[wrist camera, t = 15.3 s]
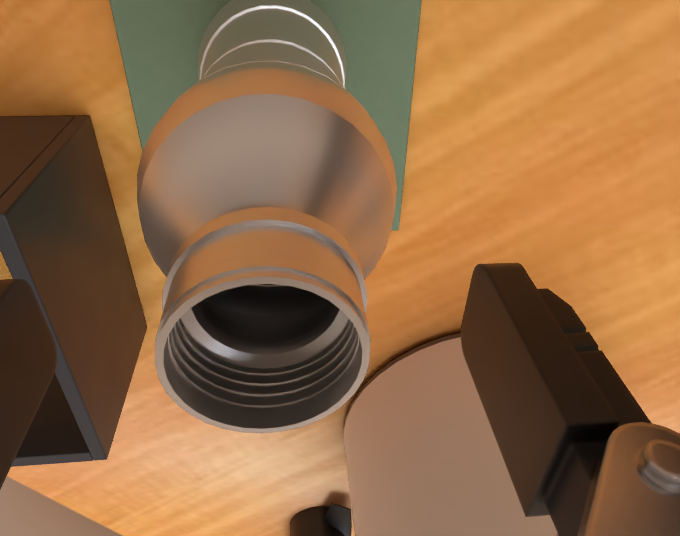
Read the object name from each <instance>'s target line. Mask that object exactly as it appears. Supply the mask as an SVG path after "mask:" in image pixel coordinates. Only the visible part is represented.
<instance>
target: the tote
mask: <svg viewBox="0 0 680 536" xmlns="http://www.w3.org/2000/svg"><path fill="white" fill-rule="evenodd" d="M0 250H1V253H2V255H3V257H4V259H5V262H6V264H7V266H8V269H9V271H10V273H11V275H12V278H13V279H23V280H25V281H26V282H27V283H28V284H29V285H30V286H31V288H32V290H33V292H34V295H35V297H36V299H37V302H38V304H39V306H40V309H41V311H42V313H43V316H44V318H45V321H46V323H47V325H48V328H49V330H50V332H51V335H52V337H53V339H54V342H55V345H56V351H57V363H56V369H55V373H54V376H53V378H52V380H51V383H50V385H49V387H48V389H47V391H46V393H45V395H44V397H43V400H42V402H41V404H40V406H39V408H38V410H37V412H36V414H35V417H34V419H33V421H32V423H31V425H30V427H29V429H28V431H27V434H26V436H25V438H24V440H23V442H22V444H21V446H20V448H19V451H18V453H17V455H16V457H15V459H14V461H13V463H12V465H11V467H13V466H27V465H41V464H54V463H68V462H82V461H93V460H106V459H107V457H108V454H109V451H110V448H111V444H112V441H113V438H114V434H115V431H116V428H117V425H118V421H119V418H120V415H121V411H122V408H123V405H124V402H125V398H126V395H127V392H128V388H129V385H130V382H131V379H132V375H133V372H134V369H135V365H136V362H137V359H138V356H139V352H140V349H141V346H142V342H143V339H144V336H145V333H146V329H147V325H146V322H145V318H144V314H143V311H142V307H141V303H140V299H139V296H138V292H137V288H136V285H135V281H134V277H133V274H132V270H131V266H130V263H129V259H128V255H127V252H126V248H125V244H124V241H123V237H122V233H121V230H120V226H119V222H118V218H117V215H116V211H115V207H114V204H113V200H112V196H111V193H110V189H109V185H108V182H107V178H106V174H105V171H104V167H103V163H102V160H101V156H100V152H99V149H98V145H97V141H96V137H95V134H94V130H93V126H92V123H91V119H90V116H14V117H0Z"/></svg>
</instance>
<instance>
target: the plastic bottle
mask: <svg viewBox="0 0 680 536" xmlns="http://www.w3.org/2000/svg"><path fill="white" fill-rule="evenodd" d="M346 75H347V62H346V56H345V49H344V46H343V44H342V41H341V38H340V35H339V33H338V31H337V30H336V28H335V26H334V24H333V23H332V21H331V20H330V18H329V17H328V16H327V15H326V14H325V13H324V12H323V10H322V9H321V8H320V7H318V6H317V5H316V4H314V3H313V2H312V1H310V0H231V1H229V2H228V3H227V4H226V5H225V6H223V7H222V8H221V9H220V10H219V11H218V12H217V14H216V15H215V16H214V18H213V19H212V20H211V21H210V23H209V25H208V27H207V29H206V31H205V33H204V35H203V38H202V42H201V46H200V50H199V59H198V82H196V83H195V84H194V85H193V86H191V87H190V88H189V89H188V90H186V91H185V92H184V93H183V94H181V95H180V96H179V97H178V98H177V99H176V101H175V102H174V103H173V104H172V106H171V107H170V108H169V109H168V111H167V112H166V113H165V114H164V116H163V117H162V118H161V119H160V121H159V122H158V123H157V124H156V126H155V127H154V128H153V130H152V132H151V134H150V137H149V139H148V141H147V143H146V145H145V147H144V149H143V151H142V156H141V160H140V165H139V169H138V174H137V202H138V209H139V216H140V221H141V226H142V230H143V234H144V239H145V242H146V244H147V246H148V248H149V250H150V252H151V255H152V257H153V259H154V261H155V262H156V264H157V265H158V266H159V268H160V269H161V270H162V272H163V273H164V274H165V276H166V277H167V278H166V282H165V285H164V289H163V297H162V310H163V314H162V318H161V321H160V325H159V328H158V332H157V335H156V339H155V366H156V370H157V373H158V377H159V380H160V382H161V384H162V385H163V387H164V389H165V391H166V393H167V394H168V395H169V396H170V397H171V398H172V399H173V400H174V402H175V403H176V404H177V405H178V406H180V407H181V408H182V409H184V410H185V411H186V412H188V413H189V414H190V415H192V416H194V417H196V418H198V419H200V420H202V421H204V422H205V423H208V424H211V425H214V426H217V427H220V428H223V429H227V430H232V431H238V432H245V433H272V432H282V431H286V430H291V429H296V428H300V427H303V426H305V425H308V424H311V423H314V422H316V421H318V420H320V419H322V418H324V417H326V416H328V415H330V414H331V413H333V412H334V411H336V410H337V409H338V408H340V407H341V406H342V405H344V404H345V403H346V402H347V401H348V400H349V399H350V398H351V397H352V395H353V394H354V393H355V392H356V391H357V389H358V388H359V386H360V384H361V383H362V381H363V380H364V377H365V374H366V372H367V369H368V366H369V357H370V342H371V340H370V335H369V329H368V324H367V319H366V306H367V292H366V287H365V281H364V280H365V279H366V278H367V277H368V275H369V274H370V273H371V272H372V271H373V269H374V268H375V267H376V265H377V263H378V261H379V259H380V258H381V256H382V254H383V252H384V250H385V248H386V245H387V242H388V239H389V235H390V232H391V229H392V224H393V218H394V213H395V203H396V193H397V185H396V176H395V167H394V163H393V160H392V157H391V154H390V151H389V148H388V145H387V143H386V141H385V139H384V138H383V136H382V134H381V133H380V131H379V129H378V128H377V126H376V124H375V123H374V121H373V120H372V118H371V117H370V115H369V114H368V112H367V110H366V109H365V108H364V107H363V106H362V105H361V104H360V103H359V102H358V101H357V100H356V99H355V98H354V96H353V95H352V94H351V93H350V92H349V91H347V90H346Z"/></svg>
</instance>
